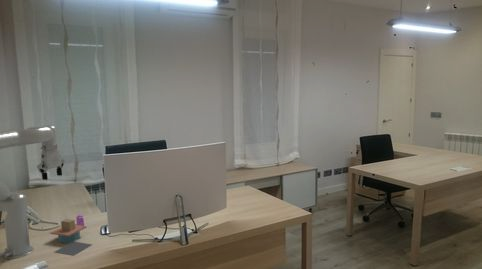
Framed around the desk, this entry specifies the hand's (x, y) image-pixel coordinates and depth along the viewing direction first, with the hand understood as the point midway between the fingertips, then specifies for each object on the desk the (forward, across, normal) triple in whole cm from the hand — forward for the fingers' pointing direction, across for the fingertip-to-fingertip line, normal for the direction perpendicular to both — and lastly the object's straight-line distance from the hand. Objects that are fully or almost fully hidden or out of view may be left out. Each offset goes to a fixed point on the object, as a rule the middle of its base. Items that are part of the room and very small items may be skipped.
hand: (52, 177), depth 192 cm
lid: (+28, -4, -13) cm, 31 cm away
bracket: (+34, +8, -2) cm, 35 cm away
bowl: (+33, -4, -13) cm, 36 cm away
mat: (+33, -13, -25) cm, 44 cm away
